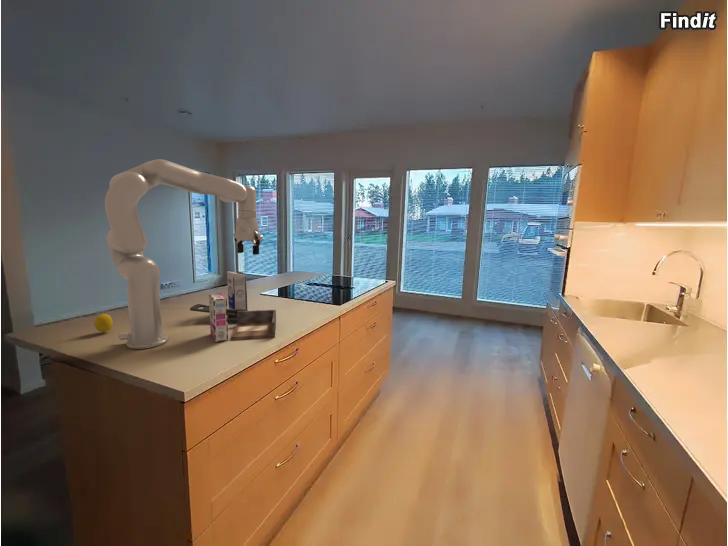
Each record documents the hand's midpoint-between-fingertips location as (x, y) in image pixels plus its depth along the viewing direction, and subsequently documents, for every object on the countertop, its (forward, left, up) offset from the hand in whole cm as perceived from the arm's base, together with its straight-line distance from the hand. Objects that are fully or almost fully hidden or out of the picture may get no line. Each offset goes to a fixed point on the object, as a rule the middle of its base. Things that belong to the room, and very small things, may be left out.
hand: (248, 253), depth 146 cm
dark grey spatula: (-12, -1, -31) cm, 33 cm away
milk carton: (-7, +13, -30) cm, 34 cm away
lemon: (-53, -12, -30) cm, 62 cm away
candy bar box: (-9, -23, -30) cm, 39 cm away
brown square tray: (+4, -19, -30) cm, 36 cm away
